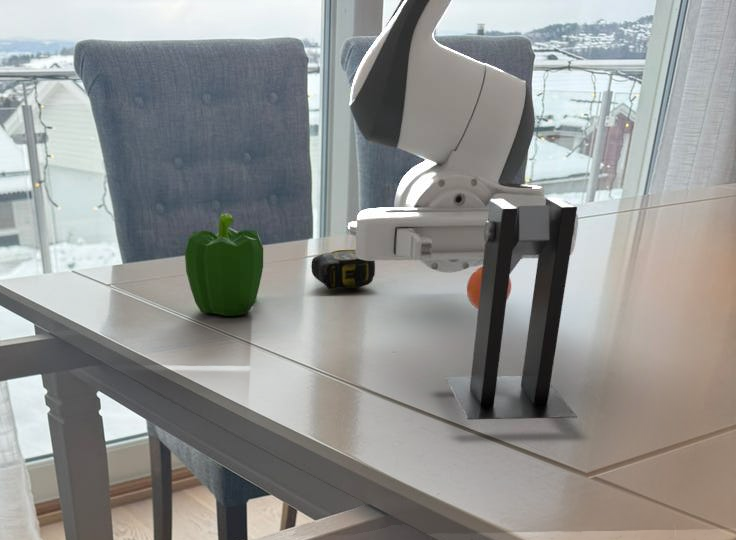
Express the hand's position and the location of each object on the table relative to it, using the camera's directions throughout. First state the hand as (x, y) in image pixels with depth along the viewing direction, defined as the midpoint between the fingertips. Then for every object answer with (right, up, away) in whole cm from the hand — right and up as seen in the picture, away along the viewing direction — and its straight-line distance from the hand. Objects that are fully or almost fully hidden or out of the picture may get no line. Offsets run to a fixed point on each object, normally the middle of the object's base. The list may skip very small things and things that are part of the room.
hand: (478, 249), depth 81 cm
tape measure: (-9, +7, +28) cm, 31 cm away
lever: (0, -7, -9) cm, 11 cm away
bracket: (0, -16, -8) cm, 18 cm away
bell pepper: (-23, +1, +20) cm, 30 cm away
